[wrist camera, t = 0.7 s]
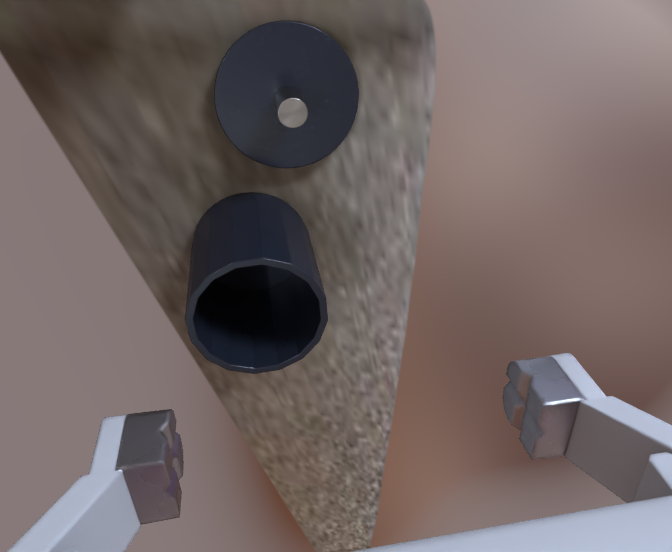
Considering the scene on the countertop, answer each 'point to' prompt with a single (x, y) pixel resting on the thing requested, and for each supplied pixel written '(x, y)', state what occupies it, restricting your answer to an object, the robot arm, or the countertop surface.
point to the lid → (286, 94)
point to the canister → (254, 286)
